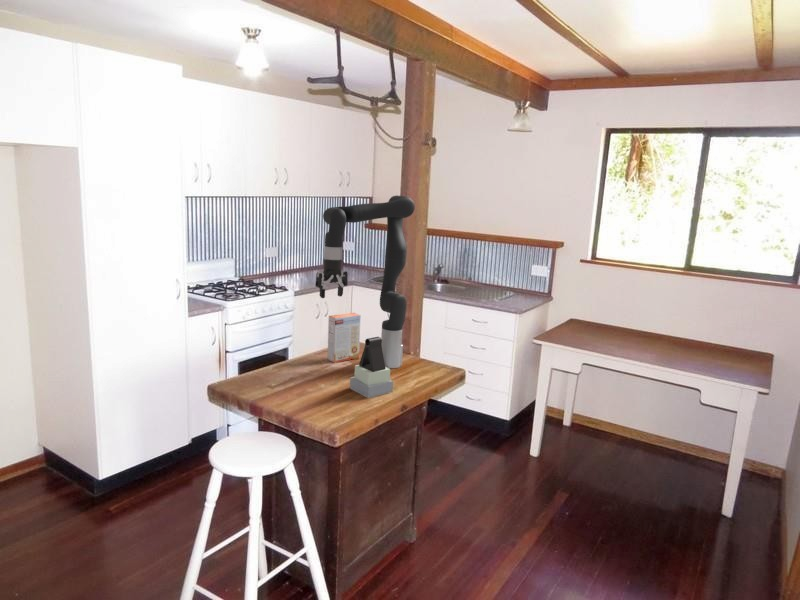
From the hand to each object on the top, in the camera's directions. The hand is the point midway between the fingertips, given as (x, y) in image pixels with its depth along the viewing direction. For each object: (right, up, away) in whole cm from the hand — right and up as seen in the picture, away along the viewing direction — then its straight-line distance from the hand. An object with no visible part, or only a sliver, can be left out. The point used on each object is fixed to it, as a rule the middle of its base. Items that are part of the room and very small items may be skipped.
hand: (331, 297), depth 227 cm
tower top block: (+17, -32, -10) cm, 38 cm away
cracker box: (+2, -29, +27) cm, 40 cm away
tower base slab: (+17, -37, -9) cm, 42 cm away
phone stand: (+17, -28, -11) cm, 35 cm away
